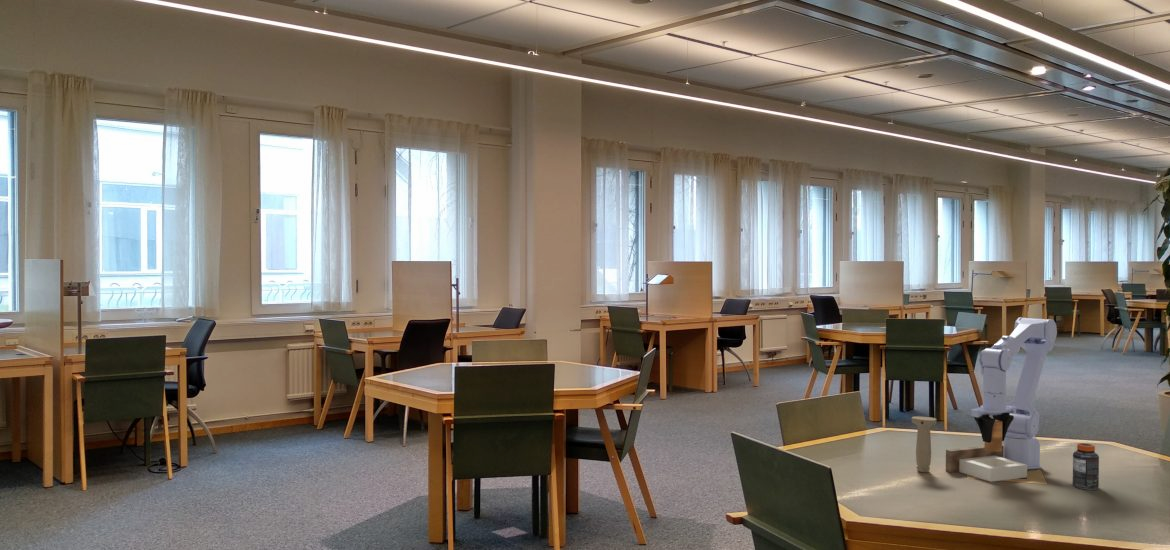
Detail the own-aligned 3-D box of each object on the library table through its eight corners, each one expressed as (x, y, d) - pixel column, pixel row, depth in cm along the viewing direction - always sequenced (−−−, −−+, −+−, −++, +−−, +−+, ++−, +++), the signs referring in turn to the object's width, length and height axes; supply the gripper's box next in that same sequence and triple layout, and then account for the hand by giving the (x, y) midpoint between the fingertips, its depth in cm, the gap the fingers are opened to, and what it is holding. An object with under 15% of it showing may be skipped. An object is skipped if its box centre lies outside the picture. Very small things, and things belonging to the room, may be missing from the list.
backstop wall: (997, 465, 247) (997, 444, 247) (1003, 466, 245) (1003, 445, 245) (945, 470, 241) (945, 449, 241) (950, 472, 239) (951, 451, 239)
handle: (933, 475, 236) (934, 421, 236) (909, 471, 240) (910, 418, 239) (937, 471, 240) (937, 418, 240) (913, 468, 244) (913, 415, 243)
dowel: (1005, 450, 235) (1006, 421, 235) (993, 452, 234) (994, 423, 233) (992, 447, 239) (993, 418, 239) (980, 448, 238) (981, 420, 237)
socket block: (994, 467, 244) (995, 455, 244) (1026, 477, 234) (1027, 464, 234) (959, 471, 240) (959, 459, 240) (990, 481, 229) (990, 468, 229)
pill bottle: (1095, 485, 226) (1096, 442, 226) (1101, 491, 221) (1102, 447, 221) (1070, 483, 228) (1071, 440, 228) (1074, 488, 223) (1075, 445, 222)
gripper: (1001, 388, 242) (1001, 435, 243) (962, 391, 237) (962, 440, 237) (1023, 392, 236) (1022, 441, 236) (983, 395, 230) (982, 445, 231)
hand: (993, 441), depth 236 cm, fingers closed on dowel, 4 cm apart
